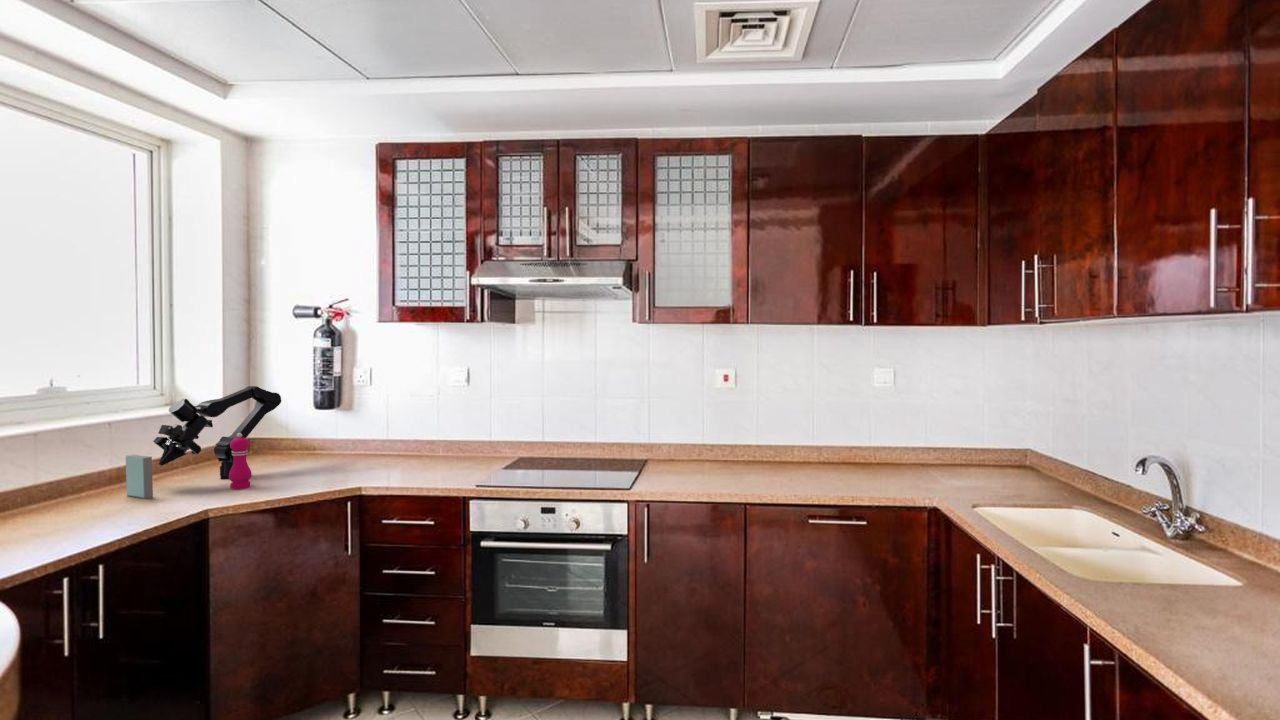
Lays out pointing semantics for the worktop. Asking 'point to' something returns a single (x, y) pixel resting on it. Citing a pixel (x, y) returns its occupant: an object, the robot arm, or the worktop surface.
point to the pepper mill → (239, 463)
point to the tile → (139, 476)
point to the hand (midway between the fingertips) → (160, 464)
